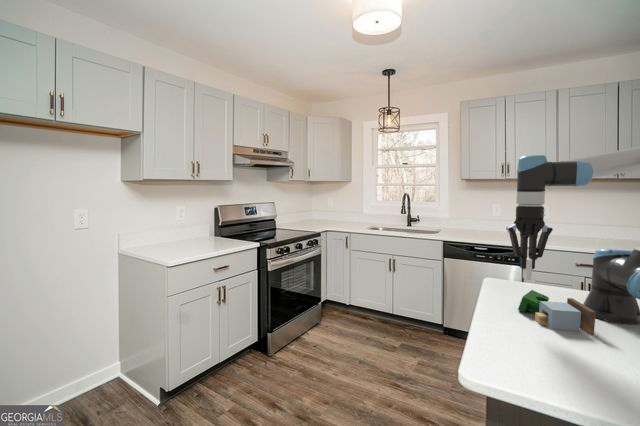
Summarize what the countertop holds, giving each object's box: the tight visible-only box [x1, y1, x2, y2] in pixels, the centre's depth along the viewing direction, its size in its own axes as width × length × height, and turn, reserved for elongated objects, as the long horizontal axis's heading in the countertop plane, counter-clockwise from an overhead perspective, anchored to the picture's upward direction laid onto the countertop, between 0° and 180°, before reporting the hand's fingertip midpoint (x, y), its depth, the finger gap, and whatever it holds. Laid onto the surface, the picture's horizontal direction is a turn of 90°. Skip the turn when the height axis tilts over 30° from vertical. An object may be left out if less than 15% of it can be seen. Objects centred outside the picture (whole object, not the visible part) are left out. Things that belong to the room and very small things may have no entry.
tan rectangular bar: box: [534, 312, 549, 326], centre depth 108 cm, size 7×3×3 cm, turn 80°
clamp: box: [517, 289, 550, 313], centre depth 119 cm, size 12×6×9 cm
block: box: [539, 301, 581, 332], centre depth 107 cm, size 8×8×6 cm
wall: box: [566, 297, 596, 335], centre depth 106 cm, size 2×12×7 cm, turn 171°
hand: (526, 278), depth 107 cm, fingers closed
